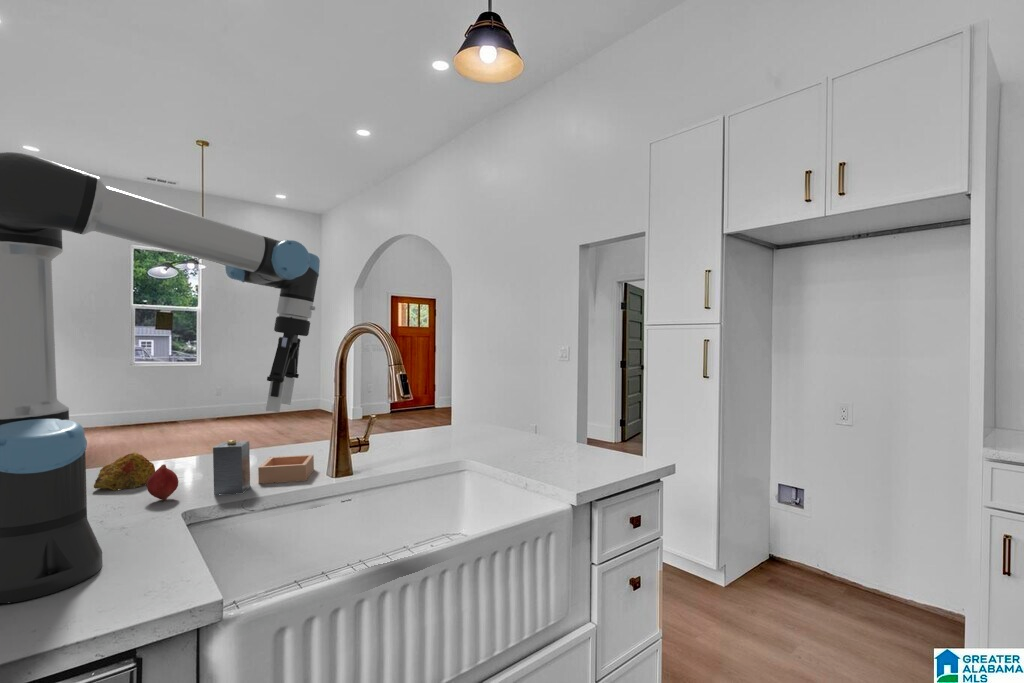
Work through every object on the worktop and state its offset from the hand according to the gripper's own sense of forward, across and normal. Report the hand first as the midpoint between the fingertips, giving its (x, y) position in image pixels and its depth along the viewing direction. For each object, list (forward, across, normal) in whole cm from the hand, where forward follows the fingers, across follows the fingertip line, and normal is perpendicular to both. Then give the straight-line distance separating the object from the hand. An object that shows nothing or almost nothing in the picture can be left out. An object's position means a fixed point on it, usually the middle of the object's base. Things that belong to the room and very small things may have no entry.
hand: (278, 407), depth 120 cm
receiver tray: (+19, +13, -2) cm, 24 cm away
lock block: (+21, +4, +8) cm, 23 cm away
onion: (+24, 0, +21) cm, 31 cm away
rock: (+26, +16, +34) cm, 46 cm away
